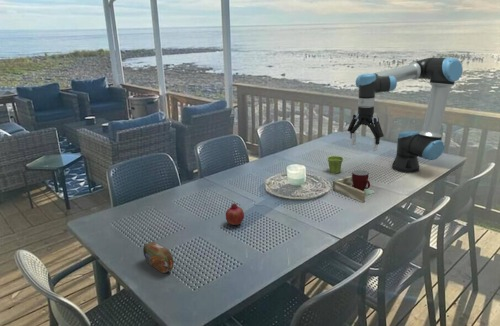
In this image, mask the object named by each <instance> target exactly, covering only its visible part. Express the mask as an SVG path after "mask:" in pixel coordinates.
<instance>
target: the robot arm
mask: <svg viewBox="0 0 500 326" xmlns="http://www.w3.org/2000/svg"><path fill="white" fill-rule="evenodd" d="M463 69H464V68H463V64H462V63H461V61H460V60H459V58H455V57H436V56H435V57H434V56H433V57H426V58H423V59H419V60H416V61H411V62H410V63H409V64H407V65H403V66H399V67H394V68H390V69H386V70H383V71H382V70H381V71H378V72H375V73H362V74H360V75H357V77H356V79H355V86H356V87H357V88H358V100H357V101H358V102H357V104H358V107H357V113H355V114H353V115H352V120H351V122H350V123H349V126H348V128H347V132H350V140H351V142H350V143H351V144H350V146H351V147H352V146H356V145H357V132H356V131H357V130H358V129H359V128H360V127H361V126H362V125H363V126H366V127H368V128H369V130H370V131H371V132H372V134H373V136H374V138H373V140H372V141H373V144H372V151H373V152H375V151H378V150H379V145H380V139H381V138H383V137H384V132H383V130H382V127H381V124H380V119H379V118H380V117H378V116H377V117H374V114H375V99H376V98H375V97H376V94H377V93H389V92H393V91H394V90H395V89H396V88H397V85H398V84H397V83H399V82H403V81H408V80H421V79H422V80H423V79H424V80H429V85H430V86H431V89H430V94H429V99H428V102H427V107H426V112H425V117H424V120H423V125H422V130H421V131H420V130H404V131H400V132H399V133H398V134H397V135H398V136H397V144H396V155H395V158H394V160H393V162H392V164H391V168H392V170H394V171H396V172H400V173H408V174H409V173H410V174H412V173H418V172H419V171H420V163H419V158H422V159H424V160H429V161H434V160H437V159H439V157H441V155H443V153H444V151H445V143H444V141H442V137H443V136H442V135H441V133H440V132H441V127H442V124H443V121H444V120H443V119H444V115H445V111H446V106H447V102H448V98H449V93H450V90H451V88H453V86H455V83H456V82H458V81H460V78H461V77H462V76H463V72H464V71H463Z"/></svg>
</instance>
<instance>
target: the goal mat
mask: <svg viewBox="0 0 500 326" xmlns="http://www.w3.org/2000/svg"><path fill="white" fill-rule="evenodd" d="M364 192H366V196H369V195H372V194H374V193H376V191H374V190H372V189H370V188H368V189H364ZM366 196H365V197H366Z"/></svg>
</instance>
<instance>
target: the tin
mask: <svg viewBox="0 0 500 326" xmlns="http://www.w3.org/2000/svg"><path fill="white" fill-rule="evenodd" d="M142 249H143V251H142V252H143V256H144V258H145V261H146V262H147V264H149V265H150V266H151V267H153V268H154V269H156V270H157V271H159V272H161V273H162V274H166V273H168V272H169V271H172V269H174V257H173V255H172V253H171V252H170V250H169V249H167V248H166V247H164V246H163V245H160V244H159V243H157V242H154V241H151V242H148V243H145V244H144V245H143V248H142Z"/></svg>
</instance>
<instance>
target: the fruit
mask: <svg viewBox="0 0 500 326" xmlns="http://www.w3.org/2000/svg"><path fill="white" fill-rule="evenodd" d="M244 218H245V212H244V210H243V208H242V207H240V206H238V204H237V203H232V204H231V206H230V207H229V208H228V209H226V211H225V220H226V223H228V224H230V225H233V226H237V225H239V224H241V223H242V222H243V221H244Z"/></svg>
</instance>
